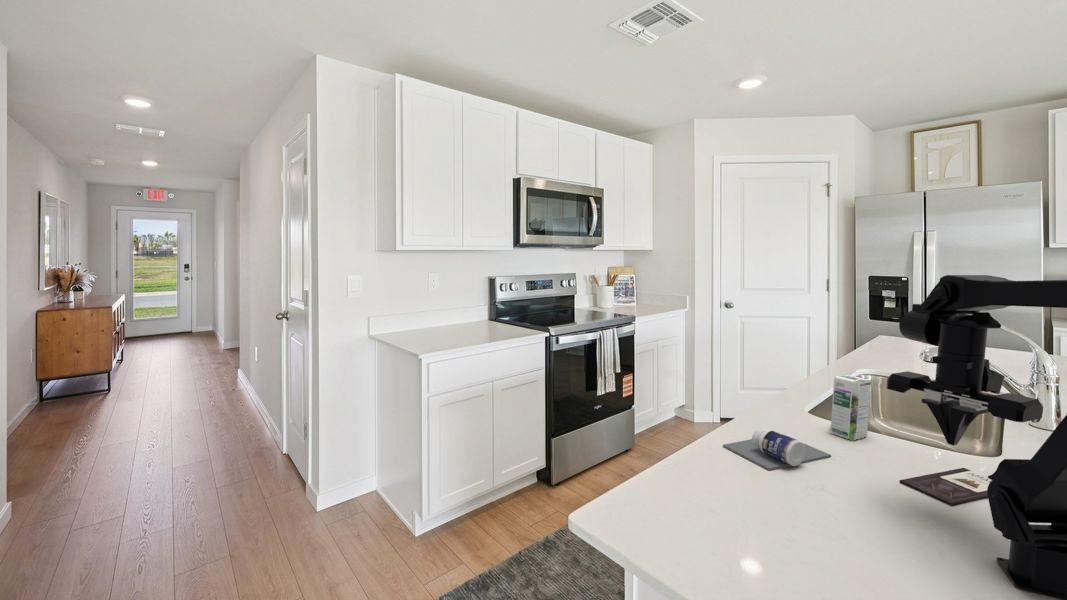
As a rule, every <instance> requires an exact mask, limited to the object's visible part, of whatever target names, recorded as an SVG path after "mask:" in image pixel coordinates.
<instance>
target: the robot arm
mask: <svg viewBox="0 0 1067 600" xmlns="http://www.w3.org/2000/svg"><path fill="white" fill-rule="evenodd" d="M1009 307H1032V308H1033V307H1035V308H1055V309H1056V308H1062V309H1064V308H1065V309H1067V279H1056V280H1055V279H1051V280H1050V279H1049V280H1047V279H1046V280H1043V279H1042V280H1041V279H1040V280H1012V279H1011V280H1010V279H1008V278H1006V277H1002V276H996V275H995V276H994V275H987V274H979V275H978V274H946V275H943V276H941V277H940V278H939V281H938V283H937V284H936V285H934V287H933V289H932V290H931V291H930V293H929V294H928V296H927V297H926V298H925V300H923V302H922V303H913V304H912V305H911V310H909V311H908V312H906V313H904V315H903V316H902V318H901V320H900V321H899V323H898V327H899V328H898V329H899V332H900V333H901V335H902V336H903V337H904V338H905V339H907V340H910V341H914V342H919V343H922V344H926V345H930V346H934V347H937V355H933V356H932V358H931V363H932V364H936V368H935V379H933V380H932V378H931V377H930V376H929V375H926V374H923V373H922V374H921V373H917V372H912V371H908V370H907V371H900V372H894V373H891V374H890V375H889V376H888V377H887V378H886V387H885V388H886V389H887V390H890V391H894V392H898V393H902V394H905V393H907V392H910V390H912V389H913V390H916V391H921V392H924V398H921V403H922V404H926V405H927V407H928V408H929V410H930V412H931V413H932V415H933V417H934V418H935V420H936V422H937V423H938V426H939V428H940V430H941V432H942V434H943V437H944V438H945V440H946V443H947V444H948V445H951V446H957V445H958V444H959V442H960V441H961V439H963V436H964V434H965V433H966V431H967V430H968V428H969V427H970V425H971V424H972V423H973V421H974V420H975V419H976V418H977V417H978V416H979V415H983V414H987V413H989V414H990V415H992V416H993V417H995V418H1000V419H1004V420H1008V421H1011V422H1014V423H1015V422H1017V423H1027V422H1030V421H1035V420H1038V419H1042V418H1043V411H1044V410H1043V409H1044V407H1043V405H1042V403H1041V402H1040V401H1039V399H1038V398H1033V397H1029V396H1024V395H1020V394H1019V395H1018V394H1015V393H1011V392H1006V393H1002V394H1001V390H1002V387H1003V383H1004V379H1005V378H1006V377H1005V375H1003V374H1001V373H999V372H997V371H995V370H993V369H990V366H991V365H990V364H991V363H990V359H989V358H986V350H987V336H988V329H1000V328H1002V324H1001V323H1000V322H999V321H998V320H996V319H995V318H994V317H993V316H992V315H991V313H990V312H988V311H993V310H1000V309H1005V308H1009ZM984 311H985V312H984ZM983 392H985V393H983ZM989 392H990V393H991V394H995V395H991V394H987V393H989ZM987 477H988V478H989V479H991V480H992V481H991V482H990V483H989V485H988V488H987V492H988V498H987V500H988V504H989V509H990V515H991V518H992V523H993V528H995V529H996V530H997V531H999V532H1000V533H1001V534H1002V535H1001V536H1002V537H1003V538H1005V539H1007V540H1010V543H1009V551H1008V553H1009V554H1008V558H1004V557H996V562H997V564H998V565H999V566H1000V568H1001V569H1002V570H1003V572H1004V573H1005V575H1006V576H1007V577H1008V579H1009V580H1010V582H1012V584H1013V585H1014V587H1016V588H1018V589H1021V590H1025V591H1028V592H1029V591H1030V592H1034V593H1039V594H1041V595H1042V594H1043V595H1048V596H1051V597H1056V598H1060V599H1065V600H1067V414H1066V415H1065V416H1064V417H1063V418H1062V420H1061V421H1060V422H1059V423H1058V424H1057V426H1056V427H1055V428H1054V429H1053V431H1052V432H1051V433H1050V435H1049V436H1048V437H1047V438H1046V439H1045V440H1044V442H1043V443H1042V445H1040V447H1039V448H1038V449H1037V451H1036V452H1035V453H1034V455H1033V456H1032V457H1031V458H1030V459H1029V458H1028V459H1027V458H1025V459H1024V458H1023V459H1017V458H1004V459H1003V460H1002V461H1000V462H999V463H998V466H997V468H996V470H995V471H994V472H993V473H992V474H990V475H988V476H987ZM1030 523H1031V524H1030ZM1035 523H1036V524H1035Z"/></svg>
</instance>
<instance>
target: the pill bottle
mask: <svg viewBox="0 0 1067 600" xmlns="http://www.w3.org/2000/svg"><path fill="white" fill-rule="evenodd" d="M751 439H752V443H753V445H754V446H757V447H759V448H760V449H761V451H762V452H763V453H765V454H767V455H769V456H771V457H774V458H776V459H778V460H780V461H783V462H785V463H787V464H789V465H792V466H791V467H796V466H798V465H801V464H800V463H801V462H802V460H803V459H804V456H805V452H806V450H805V446H804V444H805V443H804V442H803V441H800V440H799V439H795V438H793V437H790V436H788V435H786V434H783V433H780V432H779V431H775V430H773V429H769V430H768V429H767V430H764V429H761V428H758V429H756V430H755V431H754V432H753V433H752V435H751ZM803 443H804V444H803Z"/></svg>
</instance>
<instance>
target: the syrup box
mask: <svg viewBox="0 0 1067 600" xmlns="http://www.w3.org/2000/svg"><path fill="white" fill-rule="evenodd" d="M871 386H872V380H871V379H868V378H863V377H859V376H854V375H850V374H841V375H836V376H834V377H833V390H832V403H831V404H832V407H831V420H830V429H829V431H830V432H829V433H830V434H832V435H836V436H838V437H841V438H844V439H847V440H850V441H851V442H853V441H854V440H855V441H857V440H856V439H858V440H861V439H860V438H862V439H865V438H867V437H868V425H869V412H870V399H871ZM864 437H865V438H864ZM855 441H854V442H855Z"/></svg>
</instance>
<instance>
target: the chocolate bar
mask: <svg viewBox="0 0 1067 600" xmlns="http://www.w3.org/2000/svg"><path fill="white" fill-rule="evenodd" d="M991 481H992V480H991V479H989V478H988V476H987V475H984V474H981V473H979V472H976V471H973V470H971V469H968V468H965V467H961V468H956V469H951V470H945V471H941V472H935V473H930V474H925V475H919V476H915V477H908V478H902V479H900V480H899V484H902V485H903V486H906V487H907V488H910V489H912V490H914V491H916V492H917V493H918V492H919V493H921V494H924V496H927V497H929V498H932V499H933V500H936V501H939V502H941V503H942V504H945V505H947V506H950V507H955V506H960V505H965V504H969V503H972V502H976V501H977V502H978V501H981V500H986V499H987V500H988V492H987V488H988V485H989V483H990V482H991Z"/></svg>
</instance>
